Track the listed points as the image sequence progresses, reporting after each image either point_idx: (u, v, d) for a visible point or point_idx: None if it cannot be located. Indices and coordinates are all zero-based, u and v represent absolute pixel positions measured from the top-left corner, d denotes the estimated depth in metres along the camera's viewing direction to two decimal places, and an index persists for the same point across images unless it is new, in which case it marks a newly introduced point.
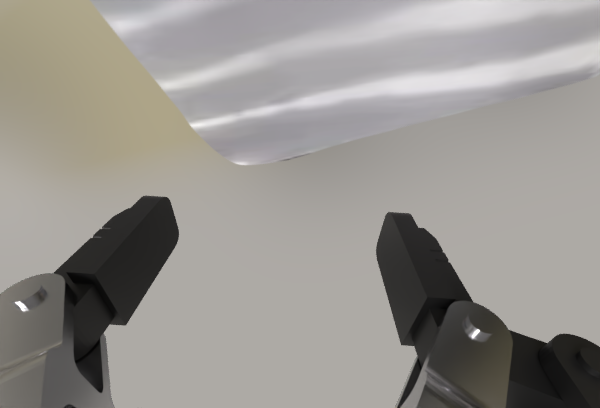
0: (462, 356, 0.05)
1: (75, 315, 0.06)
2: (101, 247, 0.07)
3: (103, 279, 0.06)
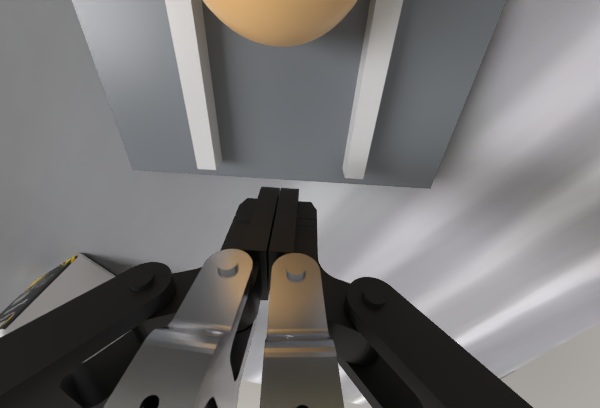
0: (291, 303, 0.06)
1: (256, 286, 0.07)
2: (257, 229, 0.08)
3: (266, 257, 0.07)
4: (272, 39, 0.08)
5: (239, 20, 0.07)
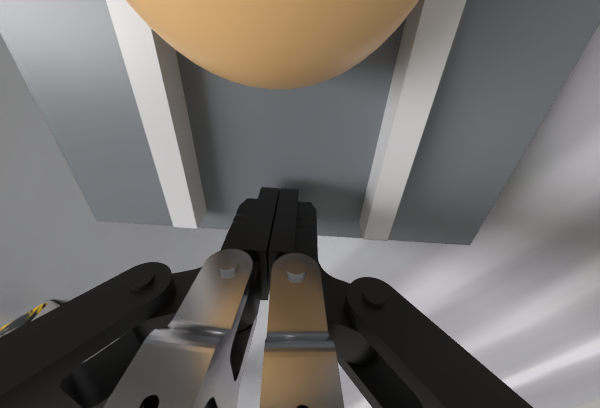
0: (291, 303, 0.06)
1: (255, 285, 0.07)
2: (256, 229, 0.08)
3: (266, 256, 0.07)
4: (263, 83, 0.05)
5: (202, 56, 0.04)
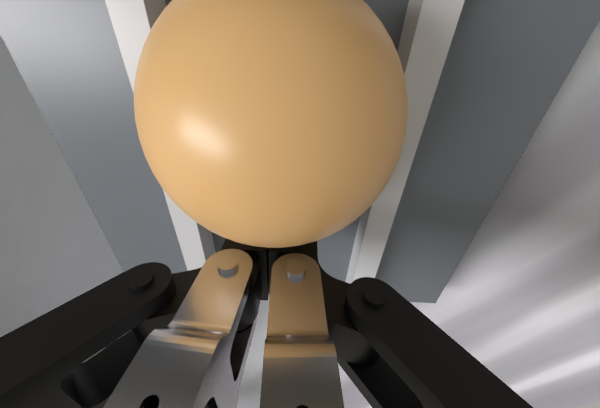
0: (291, 303, 0.06)
1: (255, 286, 0.07)
2: None
3: (266, 257, 0.07)
4: (268, 247, 0.06)
5: (224, 237, 0.05)
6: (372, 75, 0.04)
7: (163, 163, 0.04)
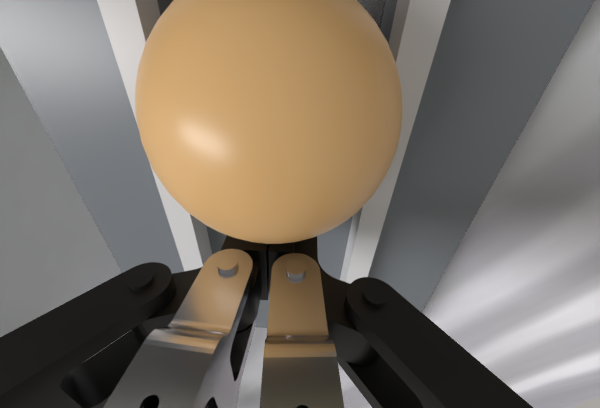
0: (291, 303, 0.06)
1: (255, 286, 0.07)
2: None
3: (266, 257, 0.07)
4: (263, 167, 0.04)
5: (203, 122, 0.04)
6: None
7: (169, 14, 0.04)
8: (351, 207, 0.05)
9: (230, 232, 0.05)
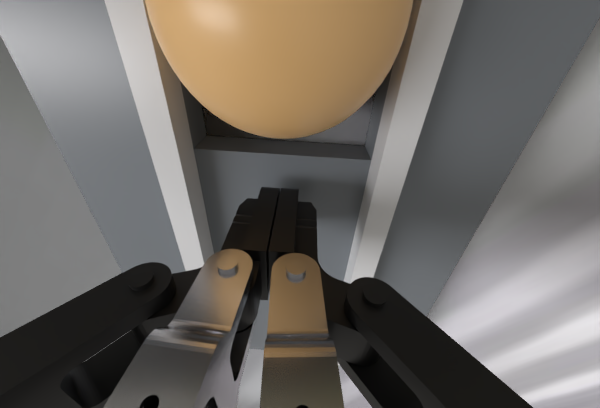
0: (291, 303, 0.06)
1: (255, 286, 0.07)
2: (256, 229, 0.08)
3: (266, 256, 0.07)
4: None
5: None
6: None
7: None
8: None
9: None
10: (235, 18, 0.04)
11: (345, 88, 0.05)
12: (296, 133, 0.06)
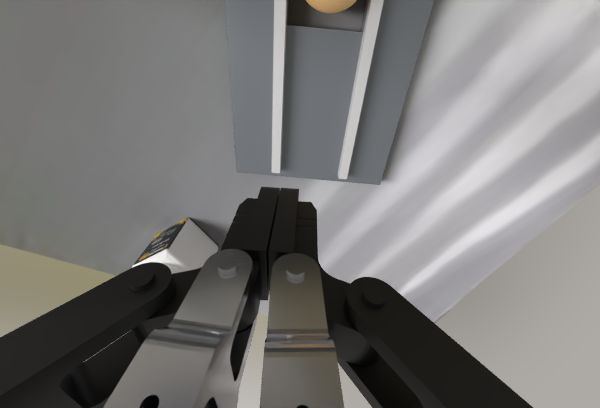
0: (291, 303, 0.06)
1: (256, 286, 0.07)
2: (257, 229, 0.08)
3: (266, 256, 0.07)
4: None
5: None
6: None
7: None
8: None
9: None
10: None
11: None
12: (336, 6, 0.20)
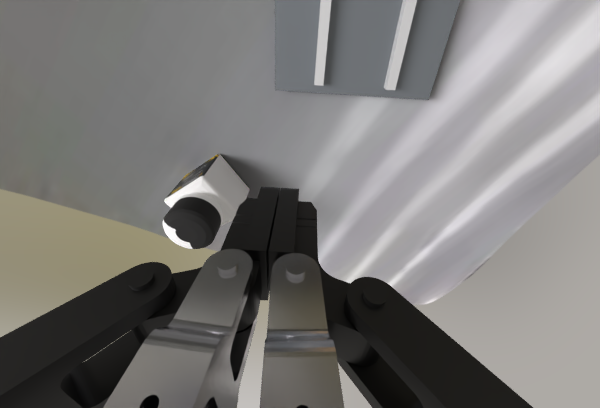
0: (291, 303, 0.06)
1: (255, 286, 0.07)
2: (257, 229, 0.08)
3: (266, 257, 0.07)
4: None
5: None
6: None
7: None
8: None
9: None
10: None
11: None
12: None
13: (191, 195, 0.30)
